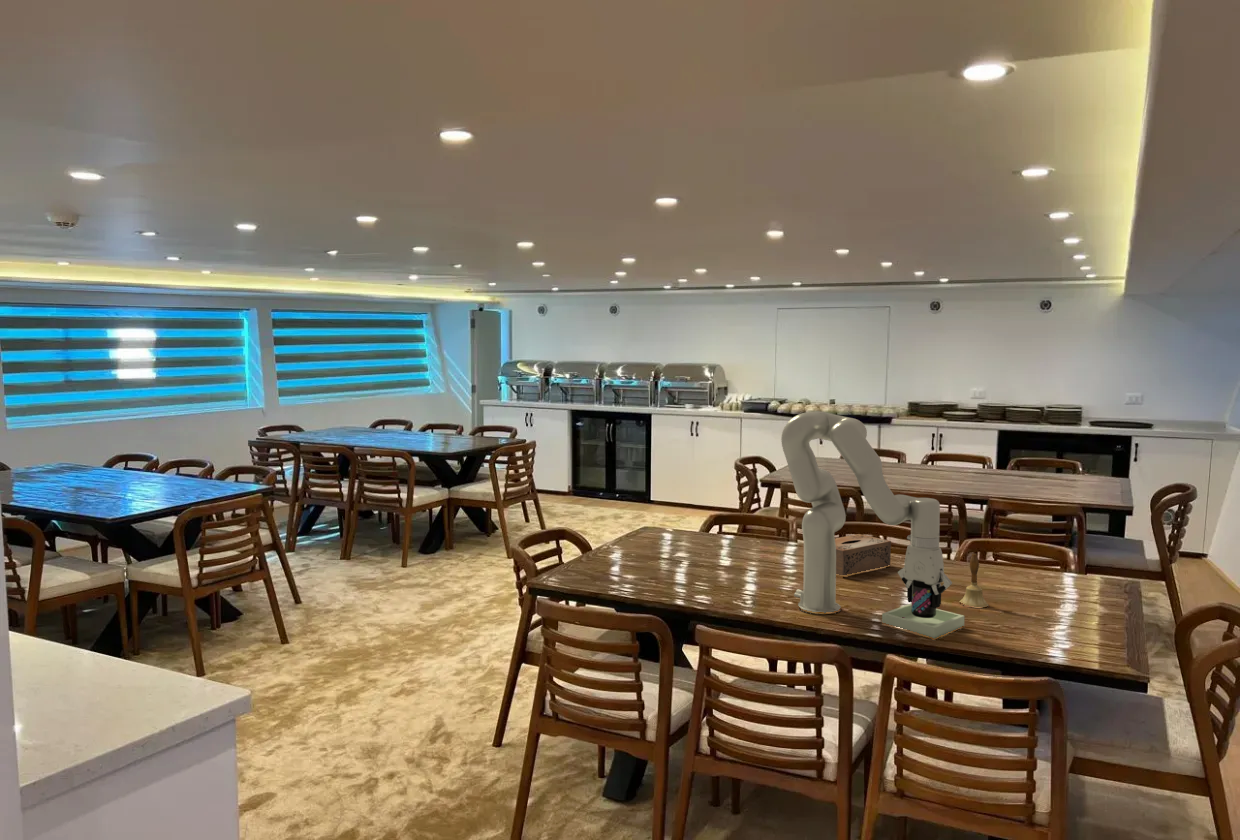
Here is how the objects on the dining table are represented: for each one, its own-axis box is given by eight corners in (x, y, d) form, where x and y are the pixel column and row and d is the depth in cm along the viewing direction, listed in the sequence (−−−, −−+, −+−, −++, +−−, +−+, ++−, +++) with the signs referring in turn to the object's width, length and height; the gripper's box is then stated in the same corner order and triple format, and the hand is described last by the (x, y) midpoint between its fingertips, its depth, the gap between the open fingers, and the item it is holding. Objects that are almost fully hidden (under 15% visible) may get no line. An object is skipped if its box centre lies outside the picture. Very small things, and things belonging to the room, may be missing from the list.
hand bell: (971, 609, 246) (973, 558, 245) (953, 602, 254) (954, 551, 253) (994, 607, 248) (996, 556, 247) (975, 599, 256) (977, 549, 255)
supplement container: (906, 612, 233) (907, 576, 233) (928, 610, 234) (929, 575, 234) (918, 619, 227) (919, 582, 226) (941, 618, 228) (941, 581, 227)
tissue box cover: (842, 579, 282) (842, 550, 281) (811, 570, 294) (811, 542, 293) (890, 568, 296) (890, 541, 295) (858, 559, 308) (858, 533, 307)
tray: (882, 625, 232) (882, 613, 232) (912, 614, 242) (912, 602, 242) (934, 640, 220) (934, 627, 219) (964, 627, 230) (964, 615, 229)
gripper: (889, 539, 233) (889, 600, 235) (947, 549, 220) (945, 614, 221) (904, 535, 238) (903, 595, 239) (961, 545, 225) (959, 608, 226)
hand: (923, 603), depth 230 cm, fingers closed on supplement container, 6 cm apart
